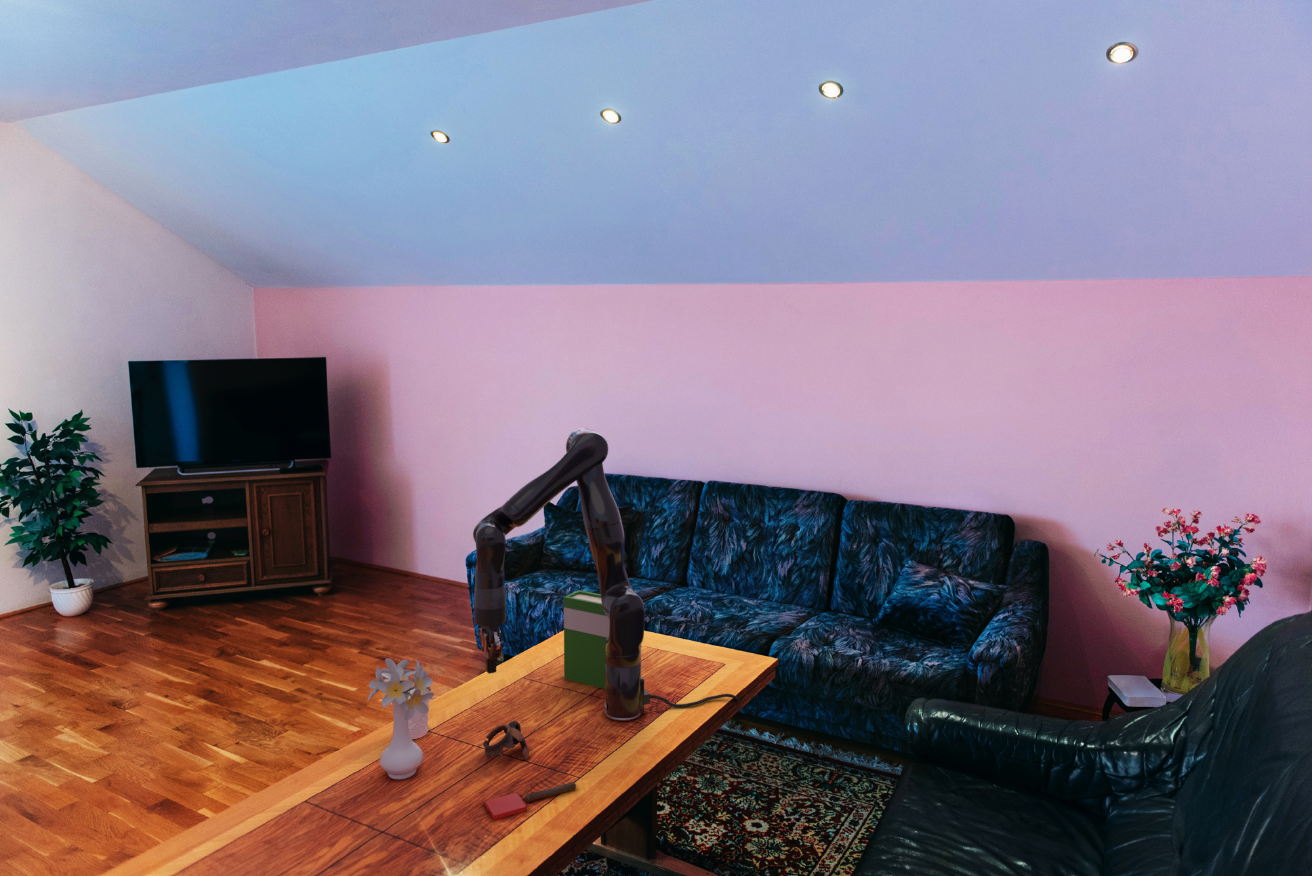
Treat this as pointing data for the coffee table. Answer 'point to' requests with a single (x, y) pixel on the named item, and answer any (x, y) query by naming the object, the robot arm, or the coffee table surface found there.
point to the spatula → (515, 804)
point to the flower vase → (402, 714)
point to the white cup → (418, 722)
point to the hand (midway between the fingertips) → (491, 671)
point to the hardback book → (585, 638)
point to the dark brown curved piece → (506, 740)
